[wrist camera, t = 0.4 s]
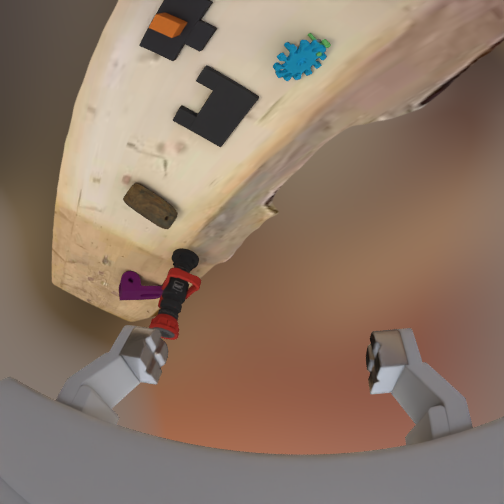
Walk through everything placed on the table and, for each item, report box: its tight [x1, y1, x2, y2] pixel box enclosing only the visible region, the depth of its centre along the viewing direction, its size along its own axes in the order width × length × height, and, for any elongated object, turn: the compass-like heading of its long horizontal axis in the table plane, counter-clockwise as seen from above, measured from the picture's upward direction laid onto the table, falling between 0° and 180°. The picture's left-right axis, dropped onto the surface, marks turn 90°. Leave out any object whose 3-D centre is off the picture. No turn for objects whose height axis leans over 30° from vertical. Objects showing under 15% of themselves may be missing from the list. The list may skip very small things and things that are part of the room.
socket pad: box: [173, 66, 259, 147], centre depth 51 cm, size 14×12×2 cm
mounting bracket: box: [119, 271, 163, 300], centre depth 108 cm, size 9×8×18 cm
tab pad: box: [139, 0, 217, 61], centre depth 36 cm, size 14×12×6 cm
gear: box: [273, 33, 331, 81], centre depth 39 cm, size 11×6×10 cm
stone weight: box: [123, 183, 178, 229], centre depth 71 cm, size 15×7×7 cm, turn 52°
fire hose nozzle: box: [149, 249, 201, 340], centre depth 85 cm, size 10×28×25 cm
